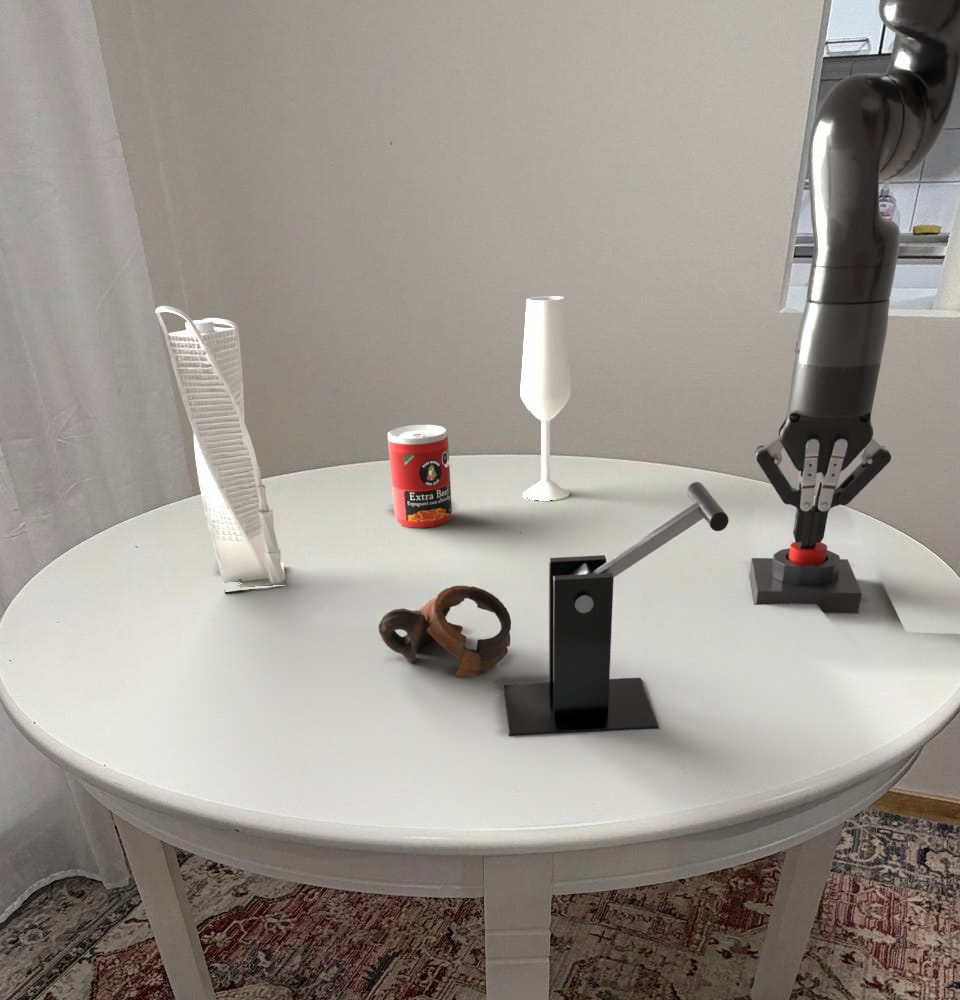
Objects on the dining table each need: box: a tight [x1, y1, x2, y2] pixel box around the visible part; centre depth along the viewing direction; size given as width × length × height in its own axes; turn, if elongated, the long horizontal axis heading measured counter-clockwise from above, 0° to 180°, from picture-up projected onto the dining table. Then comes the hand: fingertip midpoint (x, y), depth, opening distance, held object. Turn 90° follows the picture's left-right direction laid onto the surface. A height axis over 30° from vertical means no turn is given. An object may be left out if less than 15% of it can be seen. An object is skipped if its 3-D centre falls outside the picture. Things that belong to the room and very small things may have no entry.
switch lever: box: [568, 481, 730, 578], centre depth 72 cm, size 13×8×2 cm
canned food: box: [387, 424, 453, 529], centre depth 124 cm, size 8×8×11 cm
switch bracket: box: [503, 554, 660, 737], centre depth 76 cm, size 12×9×13 cm
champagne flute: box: [519, 295, 572, 502], centre depth 127 cm, size 7×7×24 cm
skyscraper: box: [155, 305, 287, 588], centre depth 103 cm, size 8×8×28 cm
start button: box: [788, 541, 828, 565], centre depth 97 cm, size 4×4×2 cm
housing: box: [748, 547, 863, 614], centre depth 99 cm, size 10×10×4 cm
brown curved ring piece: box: [378, 585, 512, 678], centre depth 87 cm, size 12×10×8 cm
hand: (806, 545), depth 97 cm, fingers closed
